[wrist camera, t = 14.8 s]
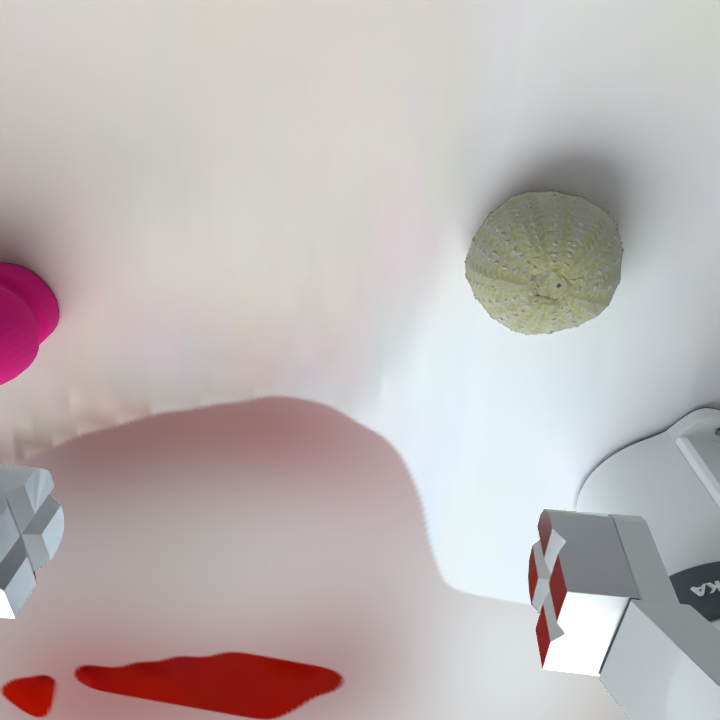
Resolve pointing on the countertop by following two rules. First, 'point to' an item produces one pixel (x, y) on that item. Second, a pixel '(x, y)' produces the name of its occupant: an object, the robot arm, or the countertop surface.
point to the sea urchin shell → (545, 262)
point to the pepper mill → (23, 318)
